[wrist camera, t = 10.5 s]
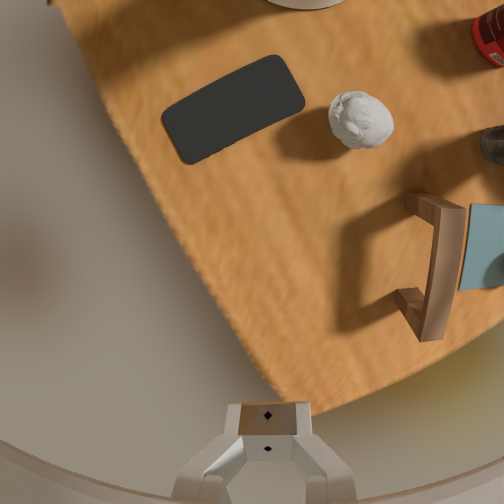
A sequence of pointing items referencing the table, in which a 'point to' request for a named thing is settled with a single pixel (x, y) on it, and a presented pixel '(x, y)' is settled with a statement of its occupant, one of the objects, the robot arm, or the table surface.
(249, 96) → the phone
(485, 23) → the canned food
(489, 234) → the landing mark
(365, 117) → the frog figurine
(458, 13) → the table surface
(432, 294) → the bridge
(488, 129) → the beverage cup
